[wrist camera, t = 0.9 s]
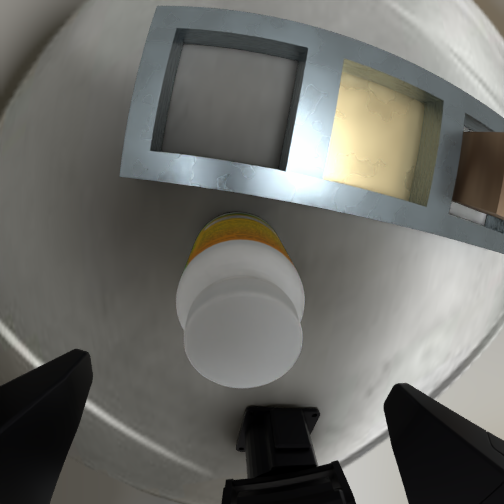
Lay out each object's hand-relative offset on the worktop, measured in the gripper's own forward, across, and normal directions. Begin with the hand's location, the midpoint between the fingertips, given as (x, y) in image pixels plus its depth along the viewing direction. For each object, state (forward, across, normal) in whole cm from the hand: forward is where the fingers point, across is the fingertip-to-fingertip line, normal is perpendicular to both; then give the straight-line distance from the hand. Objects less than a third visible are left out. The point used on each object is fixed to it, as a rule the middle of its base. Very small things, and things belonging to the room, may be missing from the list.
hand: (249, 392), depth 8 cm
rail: (+12, -7, -9) cm, 16 cm away
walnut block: (+12, -16, -9) cm, 22 cm away
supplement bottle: (+12, 0, 0) cm, 12 cm away
